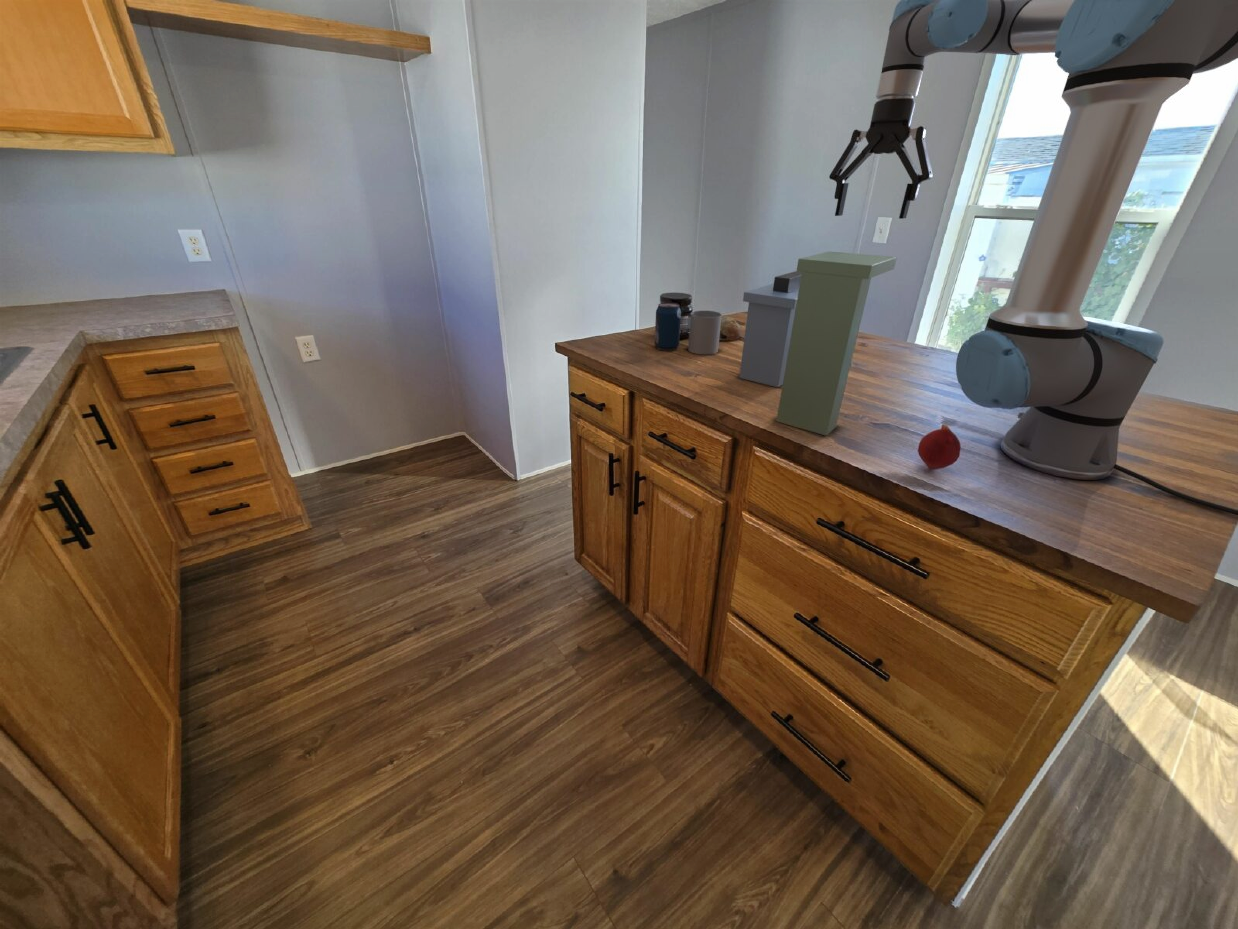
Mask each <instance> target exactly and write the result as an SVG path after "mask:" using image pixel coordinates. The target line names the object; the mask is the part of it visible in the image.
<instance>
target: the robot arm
mask: <svg viewBox="0 0 1238 929" xmlns="http://www.w3.org/2000/svg"><path fill="white" fill-rule="evenodd" d="M937 53H962V54H963V53H965V54H966V53H967V54H968V53H969V54H978V53H979V54H991V55H1006V56H1020V55H1054V57H1055V58H1056V59H1057V60H1056V64H1057V66H1058V67H1059V68H1060V69H1061V70H1062V71H1063V72H1064V73H1066V74H1067V77H1066V81H1065V85H1064V87H1063V90H1062V93H1061V99H1062V100H1063V101H1064V102H1065V104H1066V105H1067V107H1068V108H1069V112H1070V113H1069V116H1068V119H1067V122H1066V125H1065V128H1064V131H1063V134H1062V136H1061V140H1060V143H1059V145H1058V149H1057V151H1056V154H1055V157H1054V160H1053V163H1052V166H1051V169H1050V172H1049V176H1048V178H1047V181H1046V184H1045V187H1044V190H1043V193H1042V197H1041V199H1040V202H1039V205H1038V207H1037V210H1036V213H1035V216H1034V219H1033V222H1032V225H1031V228H1030V231H1029V234H1028V237H1027V240H1026V243H1025V246H1024V248H1023V252H1022V255H1021V256H1020V261H1019V262H1018V266H1017V270H1016V273H1015V275H1014V278H1013V281H1012V284H1011V287H1010V290H1009V293H1008V296H1007V298H1006V301H1005V303H1004V304H1003V305H1002V306H1000V307H999V308H997V309H995V310H994V311H992V312H991V313H990V314H989V315H988V319H987V322H986V325H985V327H984V330H981V331H979V332H976V333H974V334H972V335H970V336H969V337H968V339H967V340H965V341H964V342H963V343H962V344H961V346H960V348H959V351H958V352H957V356H956V361H955V374H956V378H957V382H958V384H959V385H960V388H961V391H962V392H963V394H964V396H966V398H967V399H969V401H971V402H972V403H974V404H975V405H977V406H980V407H983V408H987V409H988V408H989V409H1002V410H1014V409H1020V408H1021V409H1022V408H1028V409H1027V410H1026V411H1025V412H1019V413H1018V414H1017V417H1016V418H1017V419H1018V420H1017V421H1016V422H1015V423H1014V424H1013V425H1012V426H1011V428H1010V429H1009V430H1007V431H1006V433H1005V435H1004V437H1003V438H1002V440H1001V443H1000V449H1001V450H1002V452H1003V453H1004V455H1006V456H1007V457H1009V458H1010V459H1011V460H1013V461H1015V462H1017V463H1019V464H1020V465H1022V466H1025V467H1028V468H1030V469H1033V470H1036V471H1039V472H1041V473H1045V474H1048V475H1052V476H1056V477H1057V476H1058V477H1060V478H1066V479H1072V480H1082V481H1097V480H1104V479H1106V478H1108V477H1110V476H1111V474H1112V473H1113V471H1114V470H1116V471H1118V472H1121V473H1123V474H1126V475H1127V476H1130V477H1132V478H1134V479H1136V480H1139V481H1141V482H1144V483H1145V484H1148V485H1149V486H1152V487H1153V488H1155V489H1157V490H1160V491H1161V492H1164V493H1167V494H1169V495H1171V496H1173V497H1177V498H1180V499H1182V500H1185V501H1187V502H1191V503H1194V504H1197V505H1200V506H1204V507H1207V508H1211V509H1214V510H1217V511H1221V512H1225V513H1228V514H1231V515H1234V516H1235V515H1236V516H1238V509H1236V508H1232V507H1229V506H1225V505H1221V504H1218V503H1214V502H1210V501H1208V500H1204V499H1200V498H1197V497H1194V496H1191V495H1189V494H1185V493H1183V492H1180V491H1177V490H1174V489H1172V488H1169V487H1167V486H1165V485H1163V484H1160V483H1158V482H1157V481H1154V480H1153V479H1151V478H1148V477H1146V476H1144V475H1142V474H1139V473H1137V472H1135V471H1132V470H1130V469H1129V468H1126V467H1125V466H1121V465H1119V464H1117V462H1118V449H1119V436H1120V427H1121V425H1122V423H1123V422H1124V420H1125V418H1126V416H1127V414H1128V413H1129V411H1130V409H1131V407H1132V405H1133V403H1134V401H1135V399H1136V398H1137V396H1138V394H1139V393H1140V391H1141V389H1142V387H1143V385H1144V383H1145V382H1146V379H1147V377H1148V376H1149V374H1150V372H1151V371H1152V368H1153V367H1154V365H1155V364H1157V362H1158V361H1159V360H1158V356H1159V355H1160V353H1161V350H1162V348H1163V347H1164V346H1163V345H1164V342H1165V341H1164V337H1163V336H1162V335H1161V334H1160V333H1158V332H1156V331H1154V330H1151V329H1147V328H1144V327H1139V326H1136V325H1130V324H1126V323H1121V322H1117V321H1112V320H1106V319H1101V318H1095V317H1090V316H1089V317H1088V316H1083V314H1082V313H1081V307H1082V305H1083V302H1084V299H1085V297H1086V296H1087V295H1086V294H1087V293H1088V290H1089V288H1090V285H1091V283H1092V280H1093V278H1094V275H1095V273H1096V271H1097V268H1098V266H1099V262H1100V261H1101V258H1102V256H1103V253H1104V250H1105V248H1106V246H1107V243H1108V241H1109V238H1110V236H1111V234H1112V230H1113V228H1114V225H1115V223H1116V221H1117V219H1118V216H1119V214H1120V211H1121V209H1122V207H1123V204H1124V201H1125V198H1126V196H1127V194H1128V191H1129V190H1130V186H1131V184H1132V181H1133V179H1134V176H1135V175H1136V171H1137V169H1138V167H1139V164H1140V162H1141V159H1142V156H1143V153H1144V152H1145V149H1146V147H1147V145H1148V142H1149V140H1150V137H1151V134H1152V132H1153V129H1154V128H1155V125H1156V122H1157V120H1158V117H1159V115H1160V112H1161V110H1162V108H1163V106H1164V104H1165V103H1166V102H1168V101H1169V99H1171V98H1173V97H1174V96H1175V95H1176V94H1178V93H1179V92H1181V91H1182V90H1183V89H1185V88H1186V87H1187V86H1188V85H1189V84H1190V82H1191V79H1192V77H1193V75H1196V74H1202V73H1205V72H1210V71H1213V70H1216V69H1218V68H1221V67H1223V66H1225V65H1227V64H1230V63H1232V62H1233V61H1235V60H1237V59H1238V0H899V1H898V2H897V3H896V5H895V8H894V12H893V15H892V20H891V22H890V25H889V28H888V35H887V41H886V46H885V51H884V56H883V61H882V66H881V72H880V75H879V76H880V77H879V81H878V86H877V89H876V90H877V91H876V95H875V98H876V99H877V101H876V102H875V103H874V105H873V110H872V115H871V120H870V124H869V128H868V130H861V129H854V130H853V131H852V134H851V137H850V142H849V143H848V144H847V146H846V148H845V149H844V151H843V152H842V154H841V156H840V157H839V159H838V161H837V163H836V164H835V166H834V168H833V169H832V171H831V172H830V174H829V176H828V177H829V180H833V181H834V182H835V183H836V187H835V190H834V191H835V192H834V200H837V202H836V208H835V212H834V216H835V217H839V216H840V217H842V216H843V214H844V209H845V204H846V199H847V194H848V188H849V184H850V183H848V182H847V180H848V179H849V178H851V176H852V175H853V174H854V173H855V172H856V171H857V170H858V169H859V167H860V166H862V165H863V163H864V162H865V161H866V160H867V159H868V158H869V157H871V156H872V155H873V154H874V155H883V154H887V155H892V154H895V153H896V155H897V156H898V159H899V160H900V162H901V164H902V165H903V167H904V170H905V171H906V173H907V175H908V177H909V178H910V180H911V183H907V184H906V188H905V192H904V196H903V201H902V204H901V208H900V212H899V216H898V219H901V220H902V219H907V216H908V212H909V209H910V204H911V202H915V201H916V200H917V198H918V193H919V190H920V187H921V184H922V183H923V182H925V181H929V180H931V179H932V178H933V171H932V166H931V162H930V157H929V152H928V148H927V143H926V135H927V127H925V126H923V125H920V126H918V127H915V128H911V123H912V119H913V115H914V111H915V107H916V100H915V99H914V98H916V97H917V96H918V93H919V89H920V85H921V81H922V77H923V72H924V69H925V65H926V60H927V57H928V56H931V55H934V54H937ZM910 136H911V137H912V139H911V140H913V141H915V142H914V143H915V148H916V152H917V157H918V161H919V166H920V171H921V174H920V172H919V171H918V168H917V167H916V164H915V163H914V162H913V160H912V158H911V156H910V154H909V152H908V150H907V147H906V146H905V144H904V143H906V141H907V140H908V139H909V138H910ZM864 139H865V140H866V142H867V145H866V146H864V148H863V149H862V150H861V152H860V153H859V154H858V155H857V156H856V157H855V158H854V160H852V162H851V163H850V164H849V165H848V163H849V162H850V160H851V158H852V156H853V155H854V153H855V151H856V150H857V149H858V147H859V145H860V143H862V142H863V141H864ZM847 165H848V166H847ZM846 166H847V167H846ZM845 167H846V168H845Z"/></svg>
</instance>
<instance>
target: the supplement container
mask: <svg viewBox="0 0 1238 929" xmlns="http://www.w3.org/2000/svg"><path fill="white" fill-rule="evenodd" d="M692 302H693V295H691V294H689V293H686V292H664V293H661V294H660V295H659V304H660V303H677V304H679V307H680V310H681V322H680V338H679V340H684V339H687V338H689V332H690V318H691V312H694V307H693V305H692Z"/></svg>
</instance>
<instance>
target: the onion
mask: <svg viewBox="0 0 1238 929" xmlns="http://www.w3.org/2000/svg"><path fill="white" fill-rule="evenodd" d="M961 447H962V446H961V442H960V440H959V438H958V437H957V435H956V434H955V433H954V432H953V431H952V430H951V429H950V427H949V425H947V424H945V423H944V424H942V425H941V427H940V428H939V429H934V430H932V431H931V432H928V433H926V434H925V435H924V436H923V437H922V438H921V440H920V441H919V443H918V447H917V454H918V457H919V458H920V459H921V461H922V462H923V463H924V465H925V466H926V467H927V469H929V470H932V471H934V470H940V469H945V468H947V467H949V466H952V465H953V464H954V463H956V462H957V461H958V459H959V457H960V454H961V450H962V448H961Z"/></svg>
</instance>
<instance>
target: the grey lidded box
mask: <svg viewBox="0 0 1238 929" xmlns="http://www.w3.org/2000/svg"><path fill="white" fill-rule="evenodd" d="M773 286H774V283H771V284H767V285H763V286H759V287H757V288H754V289H750V290H747V291H744V292H743V298H742V302H746V303H748V306H747V313H746V314H747V315H746V323H745V330H744V337H743V345H742V346H743V347H742V353H741V360H740V362H741V363H740V370H739V376H738V378H739V379H743V380H747V381H750V382H754V383H757V384H758V383H759V384H762V385H766V386H770V387H775V388H779V387H782V385H783V379H784V373H785V367H786V362H787V356H788V350H789V344H790V338H791V333H792V327H793V321H794V315H795V309H796V304H797V298H798V292H799V289H798V290H795V291H792V292H789V293H784V292H777V291H773Z"/></svg>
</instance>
